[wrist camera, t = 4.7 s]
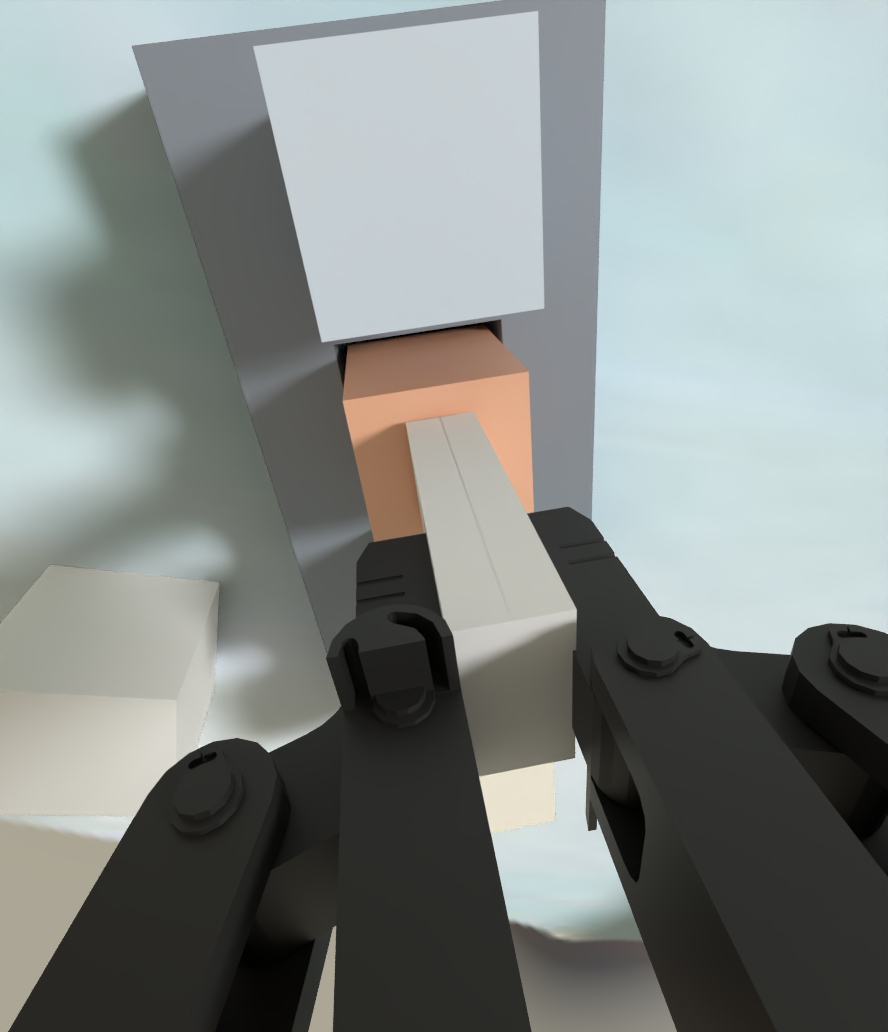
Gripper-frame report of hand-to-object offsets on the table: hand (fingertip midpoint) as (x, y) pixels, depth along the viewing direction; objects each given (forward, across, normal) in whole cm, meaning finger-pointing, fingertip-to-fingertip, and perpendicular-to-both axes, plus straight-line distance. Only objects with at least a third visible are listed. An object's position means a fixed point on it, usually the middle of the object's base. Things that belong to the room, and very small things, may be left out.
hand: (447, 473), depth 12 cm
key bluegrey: (+4, 0, -5) cm, 7 cm away
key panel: (+7, 0, +3) cm, 8 cm away
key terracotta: (+5, 0, 0) cm, 5 cm away
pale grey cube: (+8, +13, +8) cm, 17 cm away
